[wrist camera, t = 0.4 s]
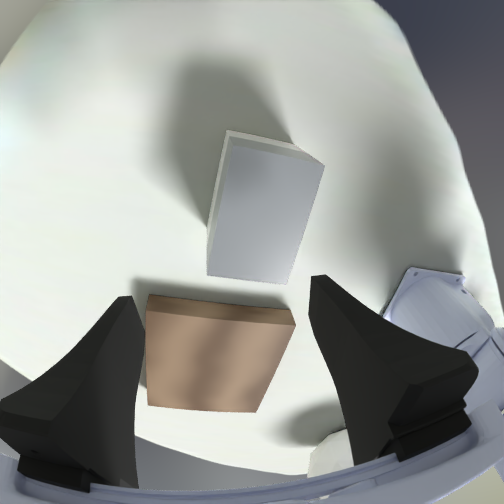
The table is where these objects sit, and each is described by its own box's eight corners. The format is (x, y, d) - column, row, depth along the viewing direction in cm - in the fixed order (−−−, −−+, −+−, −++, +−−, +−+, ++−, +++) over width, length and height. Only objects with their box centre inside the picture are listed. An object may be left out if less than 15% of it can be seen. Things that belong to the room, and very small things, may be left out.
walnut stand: (290, 309, 26) (296, 325, 24) (253, 398, 33) (255, 412, 31) (149, 294, 24) (145, 310, 22) (149, 390, 30) (147, 405, 28)
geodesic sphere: (305, 489, 43) (364, 524, 32) (268, 479, 36) (340, 528, 25) (351, 428, 49) (413, 455, 37) (326, 404, 42) (405, 439, 30)
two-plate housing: (293, 143, 19) (324, 165, 14) (268, 236, 22) (286, 284, 17) (226, 129, 18) (233, 145, 13) (206, 227, 21) (206, 275, 16)
